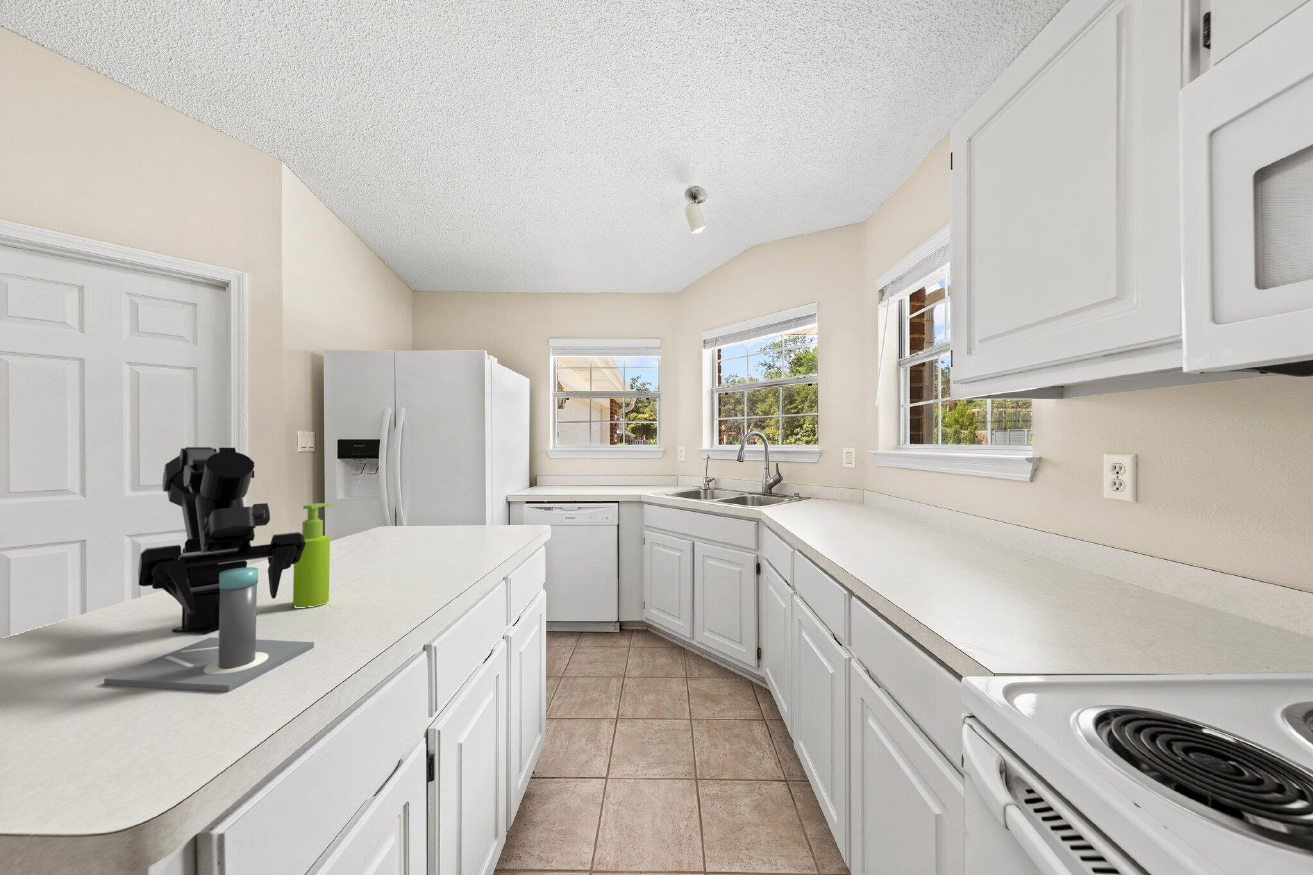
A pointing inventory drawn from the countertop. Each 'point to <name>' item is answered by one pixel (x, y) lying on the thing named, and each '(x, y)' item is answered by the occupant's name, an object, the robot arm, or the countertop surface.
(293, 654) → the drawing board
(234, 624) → the marker
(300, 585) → the soap dispenser
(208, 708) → the countertop surface
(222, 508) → the robot arm
